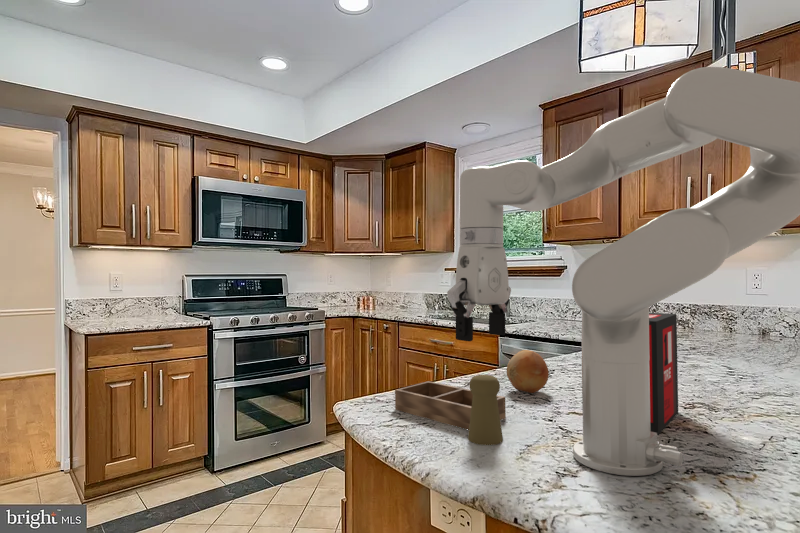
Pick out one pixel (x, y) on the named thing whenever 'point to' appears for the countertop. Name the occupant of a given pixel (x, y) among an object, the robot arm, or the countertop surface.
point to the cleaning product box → (663, 370)
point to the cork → (485, 411)
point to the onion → (527, 371)
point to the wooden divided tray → (440, 403)
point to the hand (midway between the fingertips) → (481, 337)
